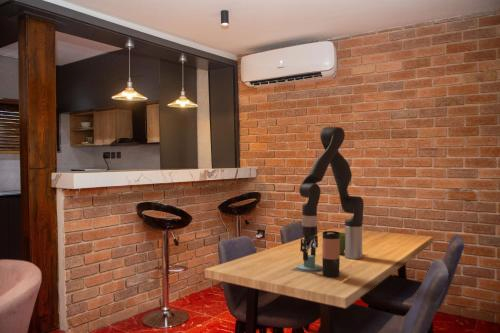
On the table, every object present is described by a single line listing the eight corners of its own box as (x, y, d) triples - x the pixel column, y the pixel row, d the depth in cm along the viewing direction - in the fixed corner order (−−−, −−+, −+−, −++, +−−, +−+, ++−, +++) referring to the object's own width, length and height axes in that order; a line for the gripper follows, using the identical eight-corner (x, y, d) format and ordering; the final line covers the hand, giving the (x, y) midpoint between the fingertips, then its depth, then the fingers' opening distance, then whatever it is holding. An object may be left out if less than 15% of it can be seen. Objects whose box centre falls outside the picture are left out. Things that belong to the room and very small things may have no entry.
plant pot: (348, 256, 225) (348, 235, 225) (327, 255, 228) (326, 235, 228) (348, 251, 237) (348, 232, 237) (327, 250, 239) (327, 231, 239)
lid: (304, 264, 204) (304, 252, 204) (324, 267, 198) (324, 255, 198) (293, 269, 195) (293, 256, 195) (315, 272, 189) (315, 259, 189)
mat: (304, 264, 206) (304, 263, 206) (327, 268, 199) (327, 266, 199) (290, 271, 193) (290, 269, 193) (314, 275, 186) (314, 273, 186)
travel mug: (337, 274, 188) (337, 230, 188) (341, 279, 180) (341, 233, 180) (320, 274, 187) (320, 231, 187) (324, 279, 180) (324, 233, 180)
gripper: (308, 222, 204) (308, 255, 204) (295, 225, 192) (295, 260, 192) (322, 223, 200) (322, 257, 200) (310, 227, 188) (310, 262, 188)
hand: (309, 258), depth 196 cm, fingers open, 8 cm apart
